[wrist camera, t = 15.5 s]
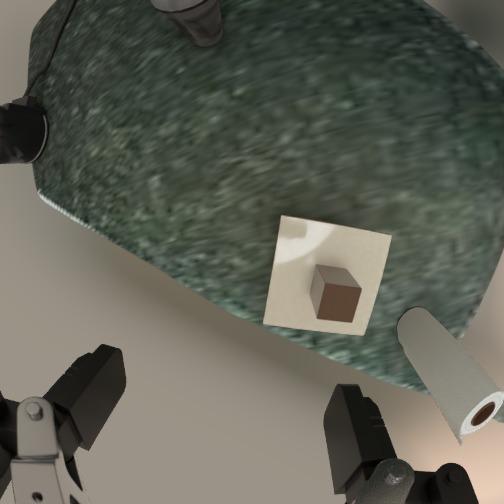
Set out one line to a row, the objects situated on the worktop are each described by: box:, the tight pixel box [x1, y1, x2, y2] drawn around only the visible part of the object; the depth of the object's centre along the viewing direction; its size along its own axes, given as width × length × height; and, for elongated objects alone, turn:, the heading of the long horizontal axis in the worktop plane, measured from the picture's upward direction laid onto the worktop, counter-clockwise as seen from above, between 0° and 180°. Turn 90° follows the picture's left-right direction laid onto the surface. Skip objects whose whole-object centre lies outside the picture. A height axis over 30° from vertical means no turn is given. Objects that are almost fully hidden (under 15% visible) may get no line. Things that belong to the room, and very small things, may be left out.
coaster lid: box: [263, 215, 392, 335], centre depth 23 cm, size 10×10×6 cm
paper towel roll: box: [397, 307, 504, 445], centre depth 27 cm, size 7×6×21 cm
